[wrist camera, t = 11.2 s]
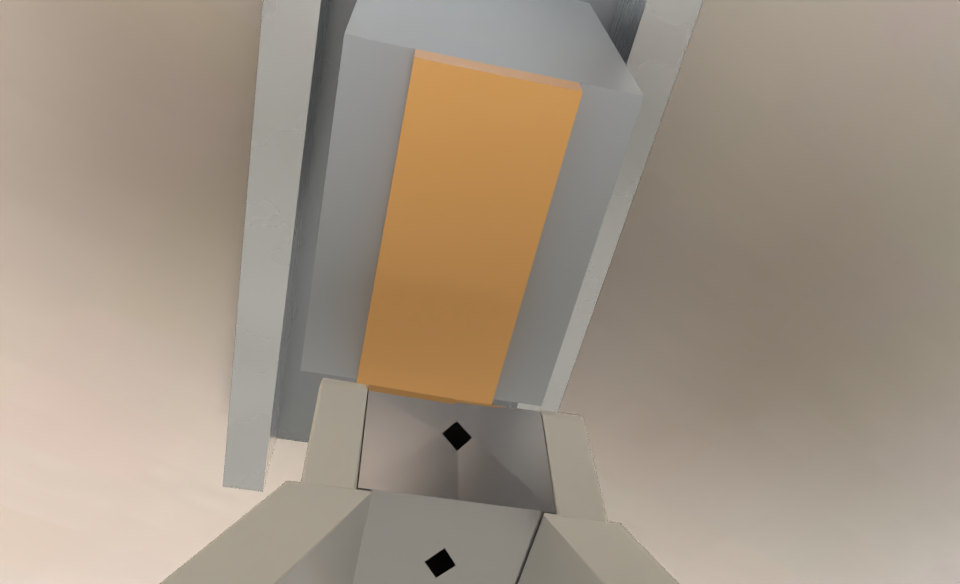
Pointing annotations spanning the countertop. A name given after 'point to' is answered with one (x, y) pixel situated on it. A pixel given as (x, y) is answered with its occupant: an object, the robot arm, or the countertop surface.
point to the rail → (299, 194)
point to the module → (464, 193)
